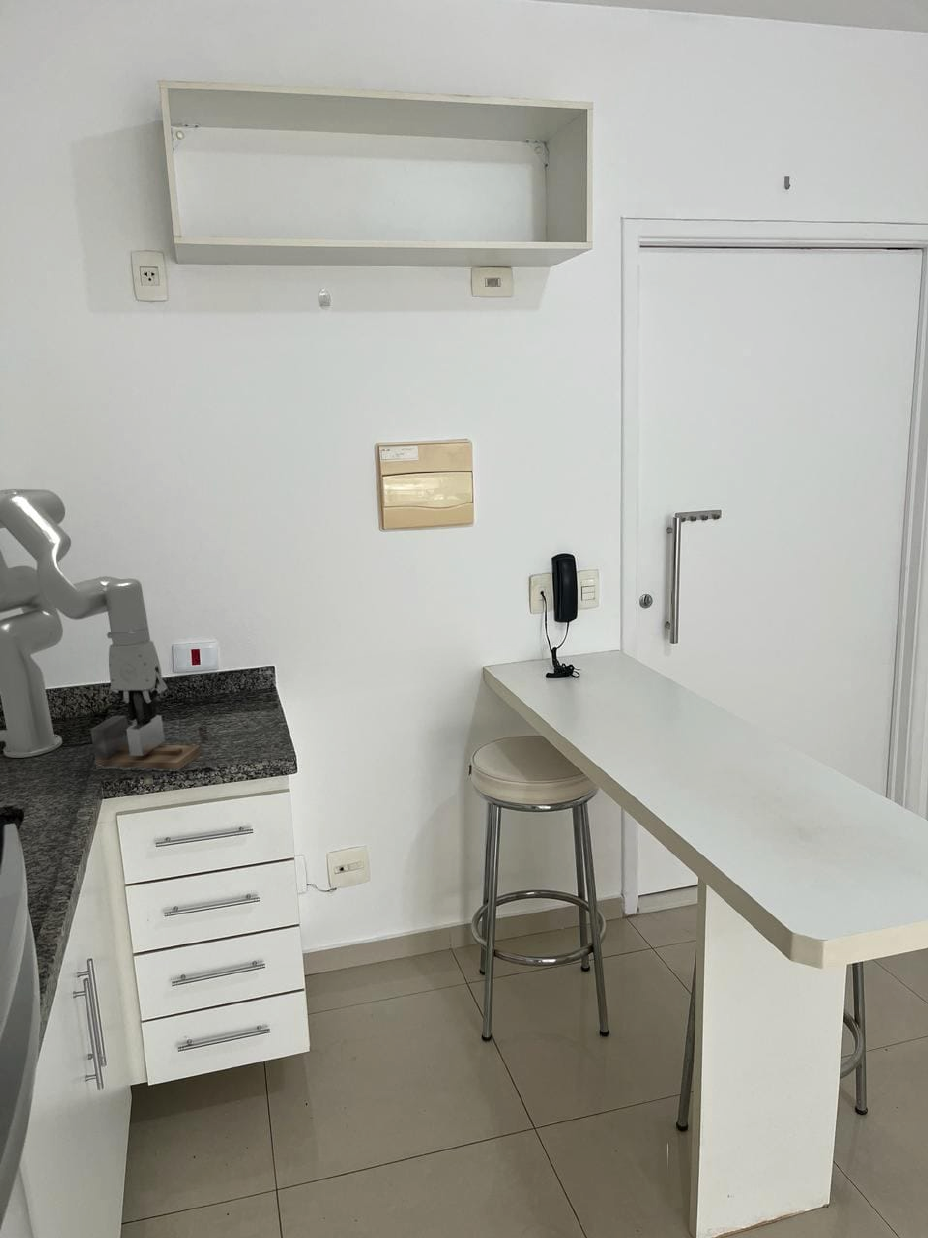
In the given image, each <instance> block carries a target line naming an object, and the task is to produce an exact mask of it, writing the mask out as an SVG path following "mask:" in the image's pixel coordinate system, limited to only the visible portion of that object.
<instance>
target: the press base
mask: <svg viewBox="0 0 928 1238" xmlns="http://www.w3.org/2000/svg"><path fill="white" fill-rule="evenodd" d="M127 719H128V718H127V715H113V716H111V717H110V718H108V719H106V720H105V721H104V720H103V722H100V724H98V725H96V726H94V727H92V728H91V729H90V736H91V741H92V747H93V754H94V759H95V760H94V761H93V762H94V766H95V765H102V766H116V767H118V766H120V767H146V768H156V769H172V770H178V769H180V768H181V767H184V766H185V765H186V766H187V764H188V763H189V764H190V763H192V762H193V761H194V760H196V759H197V758H198V757H199V756H201V755H202V749H201V745H187V744H186V745H185V744H184V745H183V744H182V745H180V744H176V745H175V744H160V745H158V746H157V747H155V748H154V749H152V750H151V751H149V752H148V753H147V754H145V755H144V756H130V749H129V743H128V737H127V731H126V729H128V728H129V725H128V720H127ZM189 764H188V765H189ZM186 766H185V767H186ZM185 767H184V768H185Z"/></svg>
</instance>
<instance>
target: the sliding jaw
mask: <svg viewBox="0 0 928 1238" xmlns="http://www.w3.org/2000/svg"><path fill="white" fill-rule="evenodd" d="M132 696H133V702H134V708H135V715H136V721H137V723H136V724H134V725H133V724H132V725H131V726H128V729H126V731H127V737H128V743H129V749H130V756H144V755H145V754H147V753H148V752H149V751H151V750H152V749H154V748H155V747H157V746H158V745H162V744H163V743H164V742H165V741H166V739H165V734H164V733H165V732H164V725H163V718H162V715H161V714H160V715H158V714H156V717H154V718H153V719H151V720H150V721H147V720H146V719H145V712H144V706H143V704H144V703H146V702H145V698H144V694H143V691H132Z"/></svg>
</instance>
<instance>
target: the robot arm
mask: <svg viewBox="0 0 928 1238" xmlns="http://www.w3.org/2000/svg"><path fill="white" fill-rule="evenodd" d="M65 507H66V506H65V505H64V502H63V501H62V498H60V496H59V495H58V494H56V493H54V492H53V491H51V490H49V489H43V488H41V489H39V488H38V489H34V488H33V489H32V488H31V489H30V488H29V489H27V488H25V489H23V488H8V489H0V529H4V528H5V529H6V531H8V532H9V533H10V534H11V535H12V536H13V538H14V539H15V540H16V541H18V543H19V544H20V545H21V546H22V547H23V548H24V549H25V551H27V553H28V554H29V555H30V556H31V557H32V558H33V560H35V562H36V568H34V567H32V566H31V565H16V566H12V567H9V566H8V564H7V563H6V561H5V559H4V555H3V553H2V551H1V550H0V614H2V613H6V612H11V611H13V610H17V609H21V611H22V613H20V614H15V615H12V616H8V617H4V618H2V619H0V700H1V705H2V711H3V716H4V720H5V725H6V726H5V727H6V730H0V742H5V746H4V748H3V755H4V756H5V757H7V758H12V759H13V758H14V759H16V758H17V759H20V758H29V757H35V756H41V755H44V754H46V753H49V752H52V751H54V750H56V749H58V748H59V747H60V746H61V745H62V744H63V739H62V737H61V736H59V735H57V734H55V733H54V730H53V723H52V718H51V717H52V716H51V712H50V707H49V701H48V697H47V696H48V695H47V691H46V685H45V684H46V683H45V680H44V674H43V672H42V669H41V667H40V666H39V665H38V663H37V662H36V661H35V660H34V659H33V658H32V656H31V655H33V654H36V653H38V652H41V651H44V650H47V649H50V648H52V647H54V646H56V645H58V644H59V643H60V641H61V640H62V637H63V624H62V620H61V618H60V615H59V612H60V613H61V614H62V615H64V616H65V617H67V618H69V619H71V620H75V621H76V620H77V621H78V620H83V619H87V618H90V617H93V616H97V615H99V614H103V613H106V612H107V613H108V614H107V616H108V621H109V628H110V631H109V632H107V633H106V636H107V638H108V639H111V642H112V644H110V645H109V648H108V649H109V650H108V651H109V652H108V670H109V679H110V690H111V691H112V692H114V693H116V694H118V696H120V698H122V699H123V701H124V703H125V704H126V705H127V710H128V716H129V719H130V721H132V722H133V721H134V720H135V719H136V715H135V708H134V702H133V696H132V691H143V694H144V698H145V702H146V703H144V704H143V706H144V712H145V719H146V720H147V721H150V720H151V719H153V718H154V717H156V715H157V707H156V701H155V700H156V699H157V697H158V696H159V695H160V694H161V693H162V692H164V691H166V690H167V689H168V686H167V684H166V682H165V681H164V679H163V674H162V668H161V664H160V660H159V656H158V653H157V649H156V647H155V644H154V642H153V640H151V639H150V631H149V626H148V625H149V624H148V618H147V612H146V607H145V606H146V605H145V598H144V592H143V586H142V583H141V581H139V580H138V579H136V578H122V579H121V578H117V577H112V576H107V575H106V576H99V577H95V578H91V579H87V580H84V581H79V582H75V583H73V582H72V581H70V579H69V578H68V577H67V576H66V575H65V574H64V573H63V571H62V570H61V569H60V567H59V564H58V563H59V562H60V561H61V560H63V558H64V557H66V555H67V554H68V552H69V551H70V549H71V546H72V540H71V537H70V536H69V535H68V533H66V532H65V531H64V529H62V527H60V524H61V523H62V522H63V521H64V519H65V517H66V516H65V515H66V508H65ZM58 611H59V612H58ZM156 686H157V687H156ZM155 687H156V688H155Z"/></svg>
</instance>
